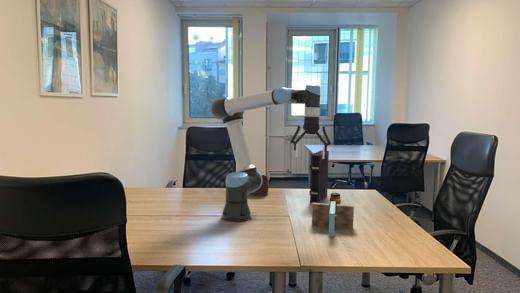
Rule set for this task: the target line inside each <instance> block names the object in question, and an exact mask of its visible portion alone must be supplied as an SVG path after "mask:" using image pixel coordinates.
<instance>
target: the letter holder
mask: <svg viewBox="0 0 520 293" xmlns="http://www.w3.org/2000/svg"><path fill="white" fill-rule="evenodd" d="M261 176H262V179H263V182H262V185H261V187H260V188H259V189H258V190H257V191H255V192H252V193H250V194H248V196H268V195H269V176H268V175H265V174H261Z"/></svg>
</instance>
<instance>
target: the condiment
mask: <svg viewBox="0 0 520 293" xmlns="http://www.w3.org/2000/svg"><path fill="white" fill-rule="evenodd" d="M331 201H334V202H336V205H335V215H336V210H337V204H340V205H342V203H341V202H342V199H341V193H339V192H338V193H337V192H331V193H330V197H329V203H328V204H329V213H330V204H331Z"/></svg>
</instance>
